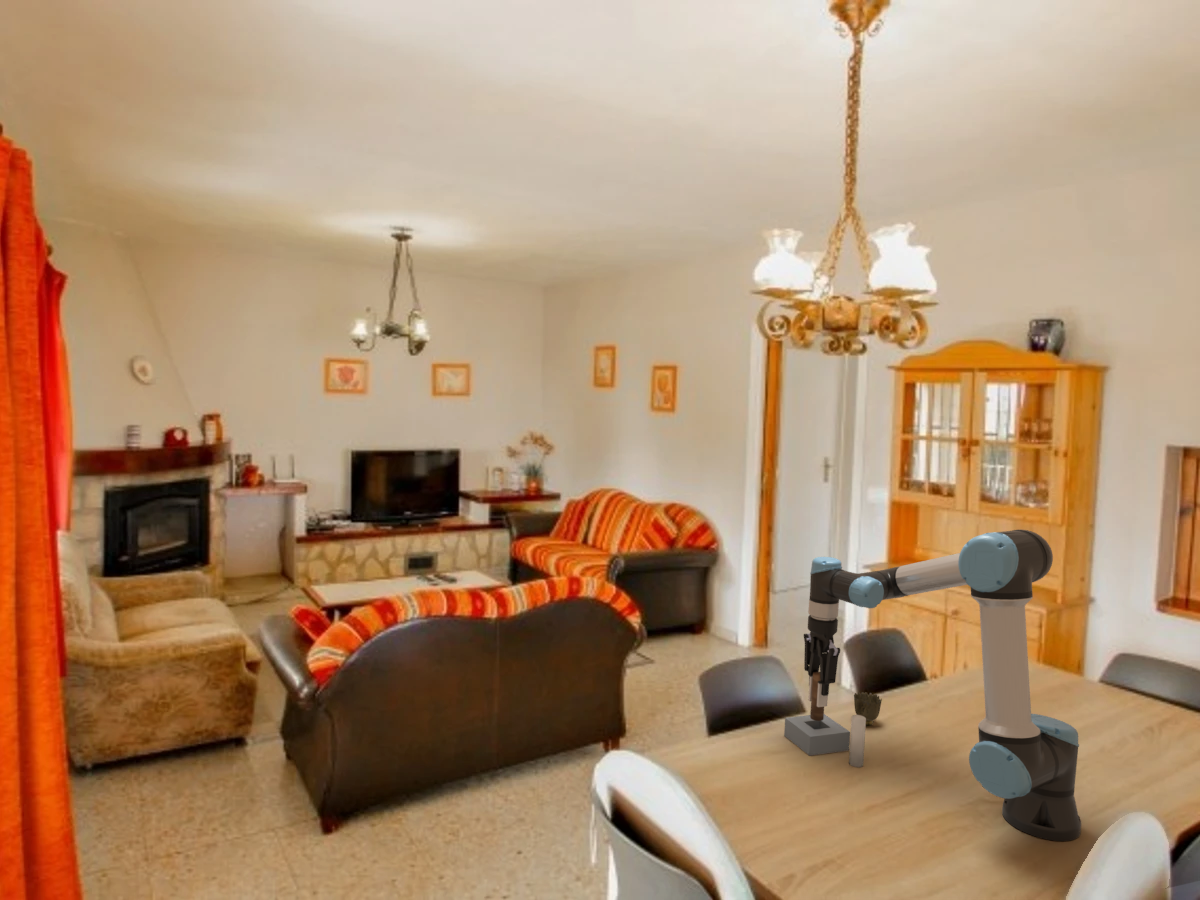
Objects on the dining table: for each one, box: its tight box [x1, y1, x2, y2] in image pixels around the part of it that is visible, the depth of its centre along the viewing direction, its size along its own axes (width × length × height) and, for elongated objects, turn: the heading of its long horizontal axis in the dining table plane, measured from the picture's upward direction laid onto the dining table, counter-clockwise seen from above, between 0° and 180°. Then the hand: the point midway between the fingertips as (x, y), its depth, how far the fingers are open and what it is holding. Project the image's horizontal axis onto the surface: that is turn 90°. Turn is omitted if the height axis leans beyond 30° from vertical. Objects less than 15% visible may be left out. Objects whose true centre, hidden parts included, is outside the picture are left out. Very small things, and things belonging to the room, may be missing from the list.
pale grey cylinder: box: [848, 714, 867, 768], centre depth 199 cm, size 3×3×12 cm
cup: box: [853, 691, 883, 727], centre depth 224 cm, size 8×7×8 cm
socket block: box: [783, 713, 851, 757], centre depth 211 cm, size 12×12×5 cm
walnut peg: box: [809, 671, 825, 721], centre depth 210 cm, size 3×3×12 cm
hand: (817, 703), depth 210 cm, fingers closed on walnut peg, 3 cm apart
